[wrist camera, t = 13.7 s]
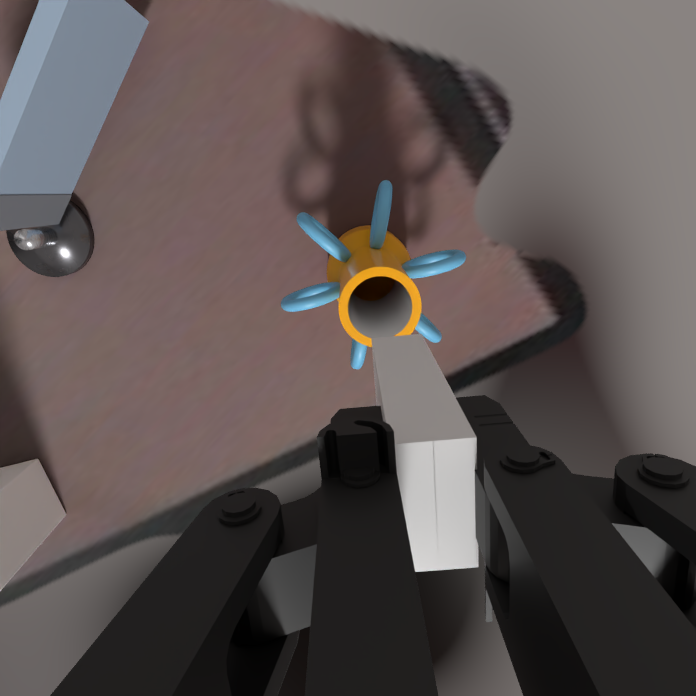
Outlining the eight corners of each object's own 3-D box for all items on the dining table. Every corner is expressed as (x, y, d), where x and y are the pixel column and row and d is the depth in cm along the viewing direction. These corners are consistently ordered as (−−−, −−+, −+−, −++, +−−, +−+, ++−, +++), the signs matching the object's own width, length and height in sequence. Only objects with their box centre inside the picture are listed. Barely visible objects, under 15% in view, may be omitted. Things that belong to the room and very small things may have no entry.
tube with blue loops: (262, 263, 38) (212, 306, 24) (351, 154, 36) (356, 130, 22) (379, 362, 41) (398, 455, 26) (470, 266, 38) (544, 310, 24)
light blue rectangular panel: (58, 224, 36) (-25, 233, 28) (41, 214, 36) (-48, 220, 28) (149, 22, 32) (83, -35, 24) (131, 9, 32) (58, -53, 24)
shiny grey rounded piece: (26, 278, 39) (-6, 286, 35) (3, 197, 37) (-33, 198, 33) (102, 271, 38) (78, 279, 35) (83, 190, 37) (55, 190, 33)
